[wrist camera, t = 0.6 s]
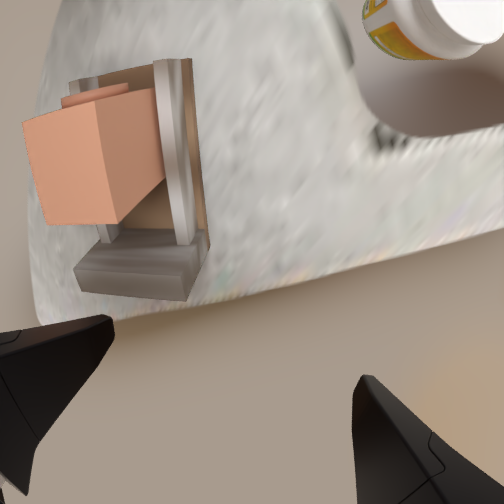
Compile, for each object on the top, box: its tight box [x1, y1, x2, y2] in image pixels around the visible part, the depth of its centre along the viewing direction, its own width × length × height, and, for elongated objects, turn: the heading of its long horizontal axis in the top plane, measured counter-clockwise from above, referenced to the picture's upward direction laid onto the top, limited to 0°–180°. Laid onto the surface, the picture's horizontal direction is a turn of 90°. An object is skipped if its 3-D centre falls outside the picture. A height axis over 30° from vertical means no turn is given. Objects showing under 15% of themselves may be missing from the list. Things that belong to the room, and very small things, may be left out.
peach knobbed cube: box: [22, 83, 166, 225], centre depth 16 cm, size 7×5×8 cm
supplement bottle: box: [362, 0, 504, 60], centre depth 11 cm, size 5×5×10 cm
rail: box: [69, 58, 210, 302], centre depth 19 cm, size 14×8×7 cm, turn 3°
